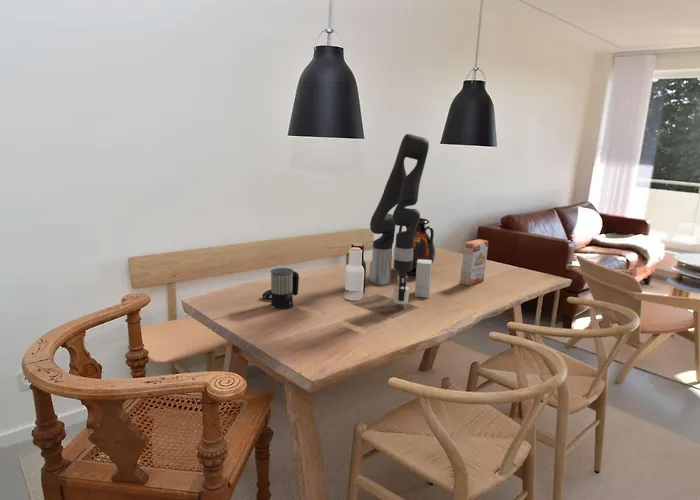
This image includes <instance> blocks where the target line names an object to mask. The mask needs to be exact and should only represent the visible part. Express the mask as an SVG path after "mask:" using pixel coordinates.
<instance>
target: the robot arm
mask: <svg viewBox="0 0 700 500" xmlns="http://www.w3.org/2000/svg"><path fill="white" fill-rule="evenodd" d="M429 147H430V143H429V140H428V139H427V138H425V137H422V136H417V135H414V134H410V133H407V134H404V136H403V137H402V140H401V143H400V145H399V148H398V152H397V155H396V158H395V160H394V161H395V162H394V164H393V167H392V169H391V172H390V174H389V177H388V180H387V182H386V184H385V186H384V189H383V193H382V194H381V198H380V200H379V202H378V204H377V207H376V208H375V210H374V212H373V214H372V216H371V219H370V225H369V228H370V231H371V233H373V234H374V235H380V237H379V238H377V239H375V240H373V243H372V254H371V255H372V257H371V261H370V264H369V282H371V284H374V285H377V286H378V285H379V286H381V285H382V286H385V285H389V284H390V283H391V276H392V275H391V273H392V258H393V270H395V271H397V273H396V274H397V275H396V277H397V278H396V279H397V281H396V282H397V285H398V286H399V290H398V291H399V298H398V300H399V301H404V293H405V291H406V290H405V289H406V286H407V285H408V283H407V282H408V281H407V280H408V275H407V273H406V272H407V271H408V272H409V271H411V270H412V265H413V242H414V235H415V231H416V228H417V225H418V223H419V220H420V218H421V214H420V211H419V210H418V209H416V208H407V207H410V206H414V205H416V204H417V203H418V199H419V198H418V197H419V191H420V184H421V180H422V176H423V172H424V169H425V165H426V161H427V157H428V153H429ZM406 158H408V159H413V160H416V161H417V162H416V163H415V166H414V168H413V169H411V171H410V172H409V173H408V174H407V172H406V167H405V159H406ZM394 208H395V209H394ZM392 209H394V210H393V213H392V214H391V213H389V212H390V211H391V210H392ZM396 226H397V227H398V226H399V227H400V226H403V227H406V226H409V227H410V229H409V230H407V231H406V230H404V231H403V230H402V232H399V231H397V232H396ZM395 233H396V235H395ZM394 242H395V244H394ZM393 245H394V248H395V252H394V251H393ZM392 256H393V257H392ZM401 287H404V289H400V288H401Z"/></svg>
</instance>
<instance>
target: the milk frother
mask: <svg viewBox="0 0 700 500" xmlns="http://www.w3.org/2000/svg"><path fill="white" fill-rule="evenodd" d="M270 276H271V277H270V279H271V282H270V283H271V284H270V285H271V286H270V288H271V289H268V290H266V291H264V292H263V293H262V296H261V297H262V299H263V300H265V299H266V300H265V301H268V300H271V301H270V307H271V306H273V307H275V308H279V309H278V310H287V309H286V308H288V309H291V308H293V307H294V301H293V300H294V299H293V298H294V297H293V296H298V295H299V283H300V281H299V279H300V275H299V273H298V272H297V271H295V270H293V268H288V267H276V268H273V269H271V270H270ZM290 307H291V308H290ZM275 308H274V309H275Z"/></svg>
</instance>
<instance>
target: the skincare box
mask: <svg viewBox="0 0 700 500" xmlns="http://www.w3.org/2000/svg"><path fill="white" fill-rule="evenodd" d="M431 263H432V260H422V259H418V261H417V268H416V276H415V287H414V291H415V293H414V297H416V298H426V299H429V298H430V291H431V279H432V277H431V275H432V264H433V263H432V264H431Z"/></svg>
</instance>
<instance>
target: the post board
mask: <svg viewBox="0 0 700 500" xmlns="http://www.w3.org/2000/svg"><path fill="white" fill-rule="evenodd" d="M349 304H351V305H354V306H355V307H359V308H362V309H365V310H367V311H371V312H373V313H376V314H379V315H382V316H385V317H387V318H390V319H395V318H397V317H401V316H403V315H404V314H406V313H409V312H411V311H414V310H417V309H420V307H419V306H417V305H414V304H410V303H409V302H408V303H407V304H397V303H394V302H393V297H392V298H391V297H389V296H385V295H383V294H379V293H376V294H373V295H371V296H367V297H365V298H361V299H359V300H355V301H352V302H349Z"/></svg>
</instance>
